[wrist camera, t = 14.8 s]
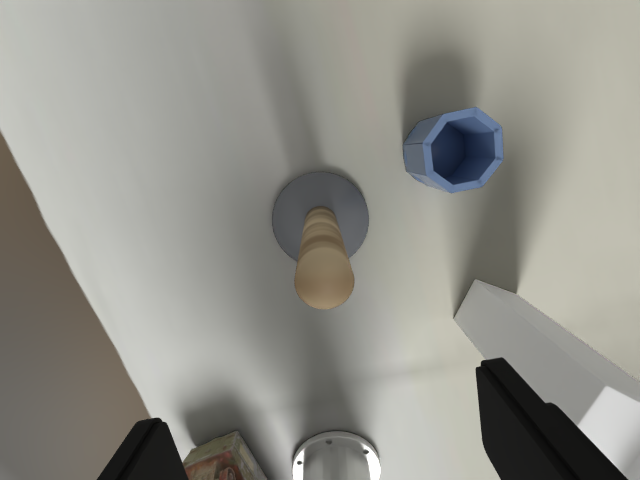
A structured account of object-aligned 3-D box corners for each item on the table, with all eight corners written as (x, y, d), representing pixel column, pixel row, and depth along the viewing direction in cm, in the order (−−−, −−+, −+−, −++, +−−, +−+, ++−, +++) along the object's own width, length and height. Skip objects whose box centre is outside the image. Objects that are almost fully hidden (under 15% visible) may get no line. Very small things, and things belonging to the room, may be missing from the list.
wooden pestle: (339, 233, 37) (358, 303, 20) (308, 239, 37) (301, 314, 20) (333, 203, 36) (348, 248, 19) (301, 209, 36) (288, 259, 19)
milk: (516, 293, 40) (742, 451, 19) (493, 334, 42) (678, 523, 20) (473, 277, 40) (656, 422, 18) (451, 319, 41) (597, 499, 20)
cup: (471, 177, 36) (505, 183, 30) (407, 190, 37) (427, 198, 30) (465, 110, 35) (501, 100, 28) (399, 124, 35) (418, 118, 28)
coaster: (374, 255, 39) (375, 257, 38) (285, 272, 39) (284, 274, 39) (359, 162, 36) (359, 163, 35) (263, 182, 36) (261, 183, 36)
